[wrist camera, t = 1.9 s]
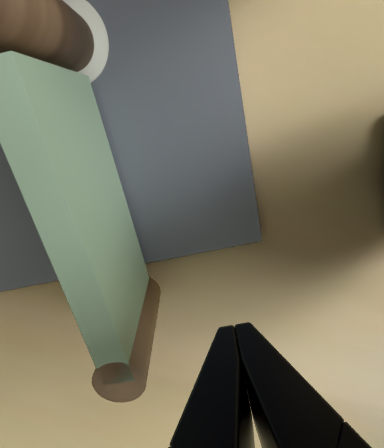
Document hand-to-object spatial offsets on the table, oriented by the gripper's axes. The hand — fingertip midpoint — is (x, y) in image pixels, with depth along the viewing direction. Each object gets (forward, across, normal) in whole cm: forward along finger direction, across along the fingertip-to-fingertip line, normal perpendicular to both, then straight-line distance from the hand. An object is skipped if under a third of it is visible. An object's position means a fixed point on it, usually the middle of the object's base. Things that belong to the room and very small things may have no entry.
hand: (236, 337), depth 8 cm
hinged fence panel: (+8, +5, -2) cm, 9 cm away
